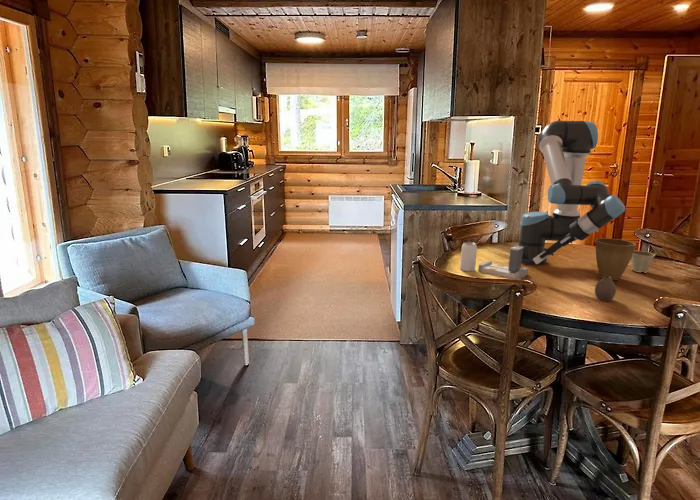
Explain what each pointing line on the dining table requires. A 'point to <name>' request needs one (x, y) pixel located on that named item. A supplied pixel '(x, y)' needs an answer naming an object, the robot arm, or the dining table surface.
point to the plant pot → (613, 256)
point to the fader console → (501, 270)
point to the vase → (605, 289)
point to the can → (468, 256)
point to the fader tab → (515, 258)
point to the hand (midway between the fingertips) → (535, 261)
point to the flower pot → (641, 260)
